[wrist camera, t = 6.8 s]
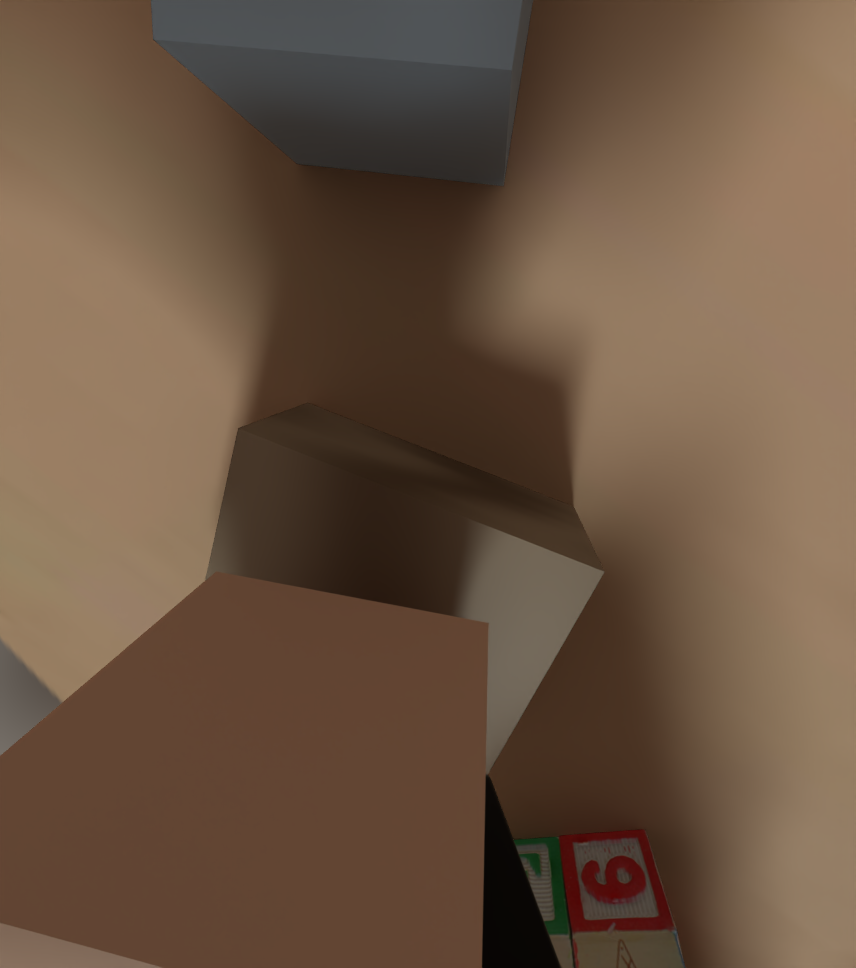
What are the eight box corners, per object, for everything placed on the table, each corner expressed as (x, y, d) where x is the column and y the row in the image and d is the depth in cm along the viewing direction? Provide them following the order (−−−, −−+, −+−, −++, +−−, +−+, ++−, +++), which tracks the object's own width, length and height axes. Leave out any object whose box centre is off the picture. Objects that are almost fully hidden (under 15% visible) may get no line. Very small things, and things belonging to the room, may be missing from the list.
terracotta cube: (488, 623, 8) (480, 1055, 3) (448, 823, 9) (404, 1305, 5) (216, 571, 8) (-150, 882, 4) (223, 771, 10) (-22, 1164, 5)
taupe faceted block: (571, 502, 13) (604, 572, 9) (468, 703, 16) (460, 821, 12) (311, 401, 13) (238, 428, 9) (252, 618, 16) (177, 707, 12)
